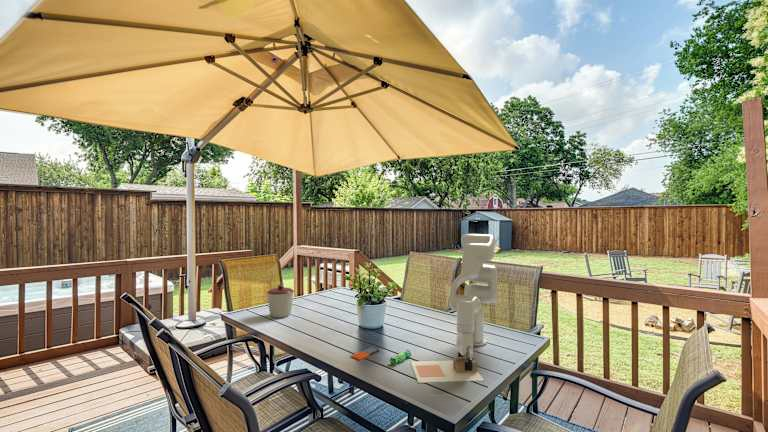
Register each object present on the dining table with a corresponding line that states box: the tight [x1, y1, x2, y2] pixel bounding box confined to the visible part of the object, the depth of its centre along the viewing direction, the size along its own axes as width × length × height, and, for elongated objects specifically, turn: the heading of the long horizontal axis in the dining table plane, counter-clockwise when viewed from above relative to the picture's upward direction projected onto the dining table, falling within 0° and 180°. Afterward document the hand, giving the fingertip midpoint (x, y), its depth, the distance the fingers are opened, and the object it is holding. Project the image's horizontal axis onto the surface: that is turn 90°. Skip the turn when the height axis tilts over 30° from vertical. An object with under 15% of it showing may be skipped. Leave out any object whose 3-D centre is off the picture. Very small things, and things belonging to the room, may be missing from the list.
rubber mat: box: [410, 359, 485, 384], centre depth 155 cm, size 20×28×1 cm
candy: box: [389, 349, 412, 366], centre depth 166 cm, size 12×3×4 cm
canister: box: [265, 284, 295, 319], centre depth 235 cm, size 18×18×21 cm
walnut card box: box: [452, 356, 478, 373], centre depth 156 cm, size 6×9×4 cm, turn 95°
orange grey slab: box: [350, 346, 380, 362], centre depth 173 cm, size 6×1×15 cm
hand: (464, 365), depth 156 cm, fingers open, 9 cm apart
